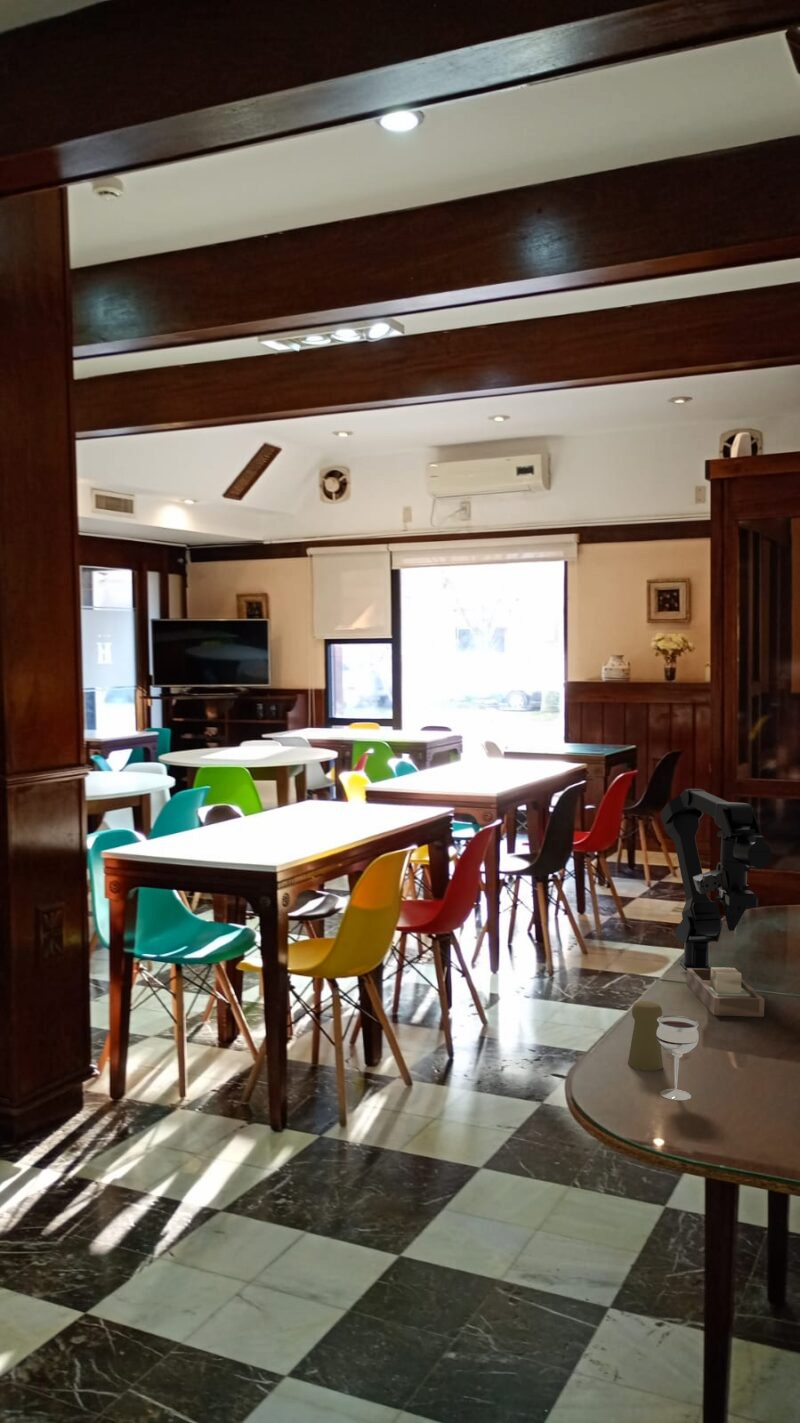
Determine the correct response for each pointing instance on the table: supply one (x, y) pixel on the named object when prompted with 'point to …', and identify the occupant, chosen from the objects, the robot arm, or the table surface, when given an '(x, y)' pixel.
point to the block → (725, 980)
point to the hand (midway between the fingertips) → (731, 930)
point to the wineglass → (677, 1045)
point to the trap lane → (724, 996)
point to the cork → (645, 1037)
